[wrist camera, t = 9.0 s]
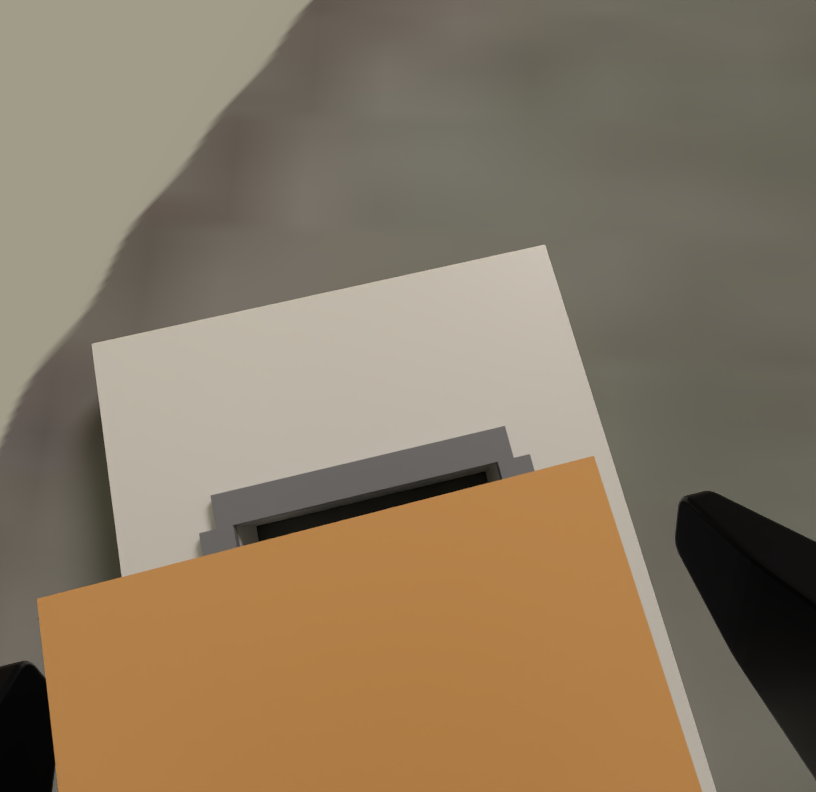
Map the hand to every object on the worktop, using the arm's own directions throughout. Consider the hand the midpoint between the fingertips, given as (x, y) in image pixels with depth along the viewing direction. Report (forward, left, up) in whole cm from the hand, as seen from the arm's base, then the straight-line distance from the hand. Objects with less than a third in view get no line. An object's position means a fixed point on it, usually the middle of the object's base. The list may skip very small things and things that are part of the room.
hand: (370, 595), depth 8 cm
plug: (-1, 0, -8) cm, 8 cm away
